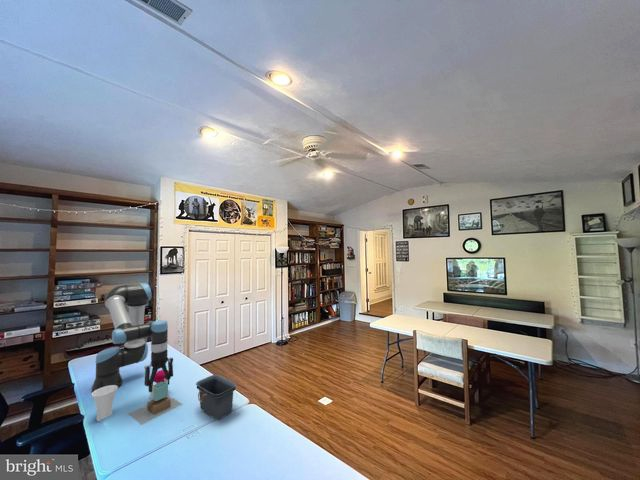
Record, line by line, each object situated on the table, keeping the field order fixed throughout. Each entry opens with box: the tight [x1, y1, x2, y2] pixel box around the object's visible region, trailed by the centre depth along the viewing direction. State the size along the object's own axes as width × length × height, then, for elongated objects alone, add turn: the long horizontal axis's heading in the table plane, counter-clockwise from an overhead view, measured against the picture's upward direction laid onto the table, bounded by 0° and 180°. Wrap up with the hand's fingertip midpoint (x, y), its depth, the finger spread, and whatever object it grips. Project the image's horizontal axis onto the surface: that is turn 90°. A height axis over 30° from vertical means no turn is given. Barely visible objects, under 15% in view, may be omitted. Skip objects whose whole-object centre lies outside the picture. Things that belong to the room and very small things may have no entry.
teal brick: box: [150, 382, 169, 401], centre depth 138 cm, size 6×6×6 cm
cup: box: [91, 385, 118, 422], centre depth 133 cm, size 10×10×14 cm
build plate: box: [127, 395, 183, 426], centre depth 137 cm, size 16×20×1 cm
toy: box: [153, 369, 169, 384], centre depth 151 cm, size 8×8×15 cm
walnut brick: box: [146, 397, 171, 415], centre depth 138 cm, size 8×8×4 cm
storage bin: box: [195, 374, 237, 421], centre depth 135 cm, size 21×16×14 cm
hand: (159, 394), depth 138 cm, fingers closed on teal brick, 6 cm apart
